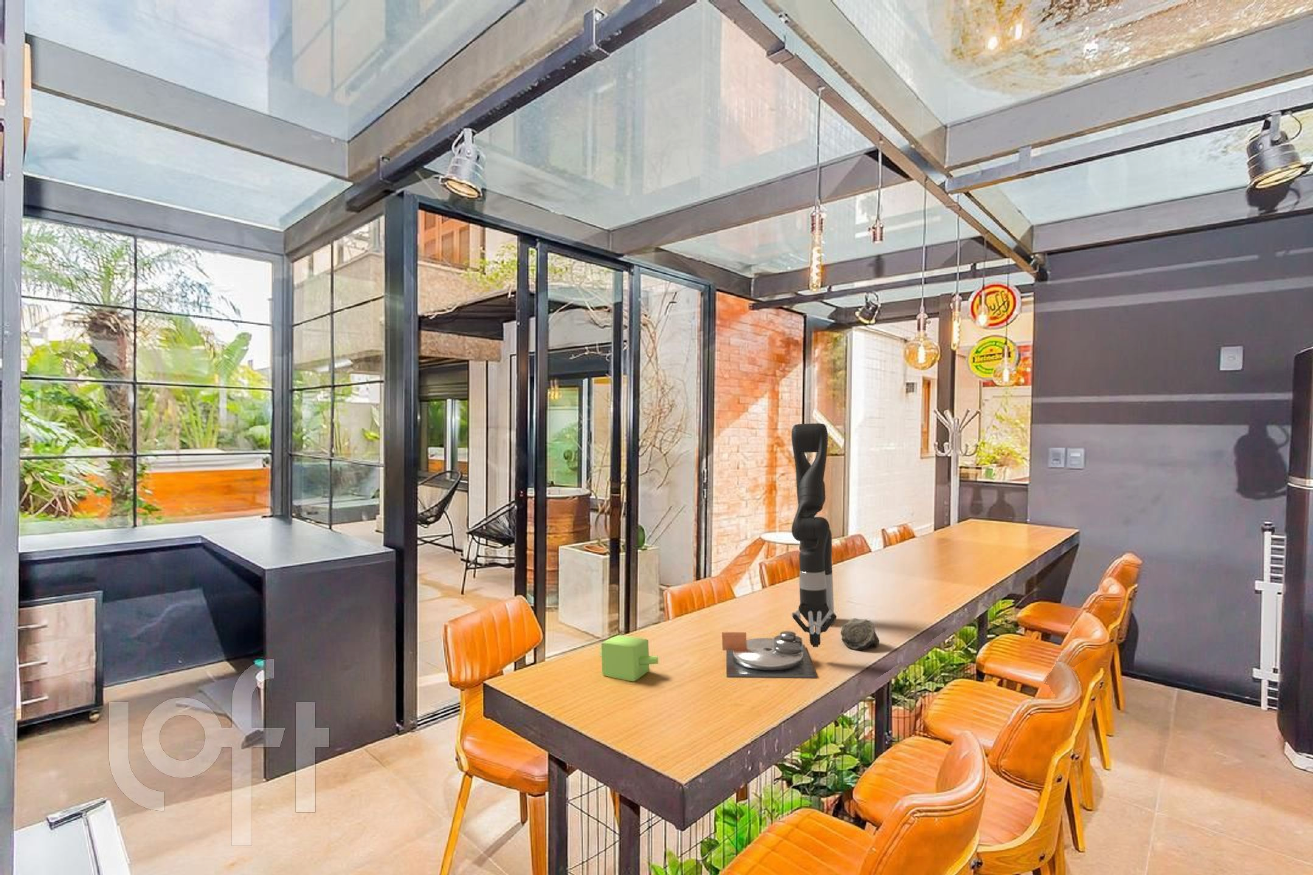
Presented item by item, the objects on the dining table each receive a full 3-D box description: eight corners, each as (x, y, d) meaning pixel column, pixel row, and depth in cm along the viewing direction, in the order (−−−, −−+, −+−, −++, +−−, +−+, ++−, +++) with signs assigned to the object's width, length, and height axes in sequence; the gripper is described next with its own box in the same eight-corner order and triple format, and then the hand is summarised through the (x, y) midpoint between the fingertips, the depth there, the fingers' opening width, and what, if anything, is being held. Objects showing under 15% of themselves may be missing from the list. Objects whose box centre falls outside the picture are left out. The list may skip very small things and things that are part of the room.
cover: (773, 644, 175) (772, 629, 175) (800, 644, 174) (800, 629, 174) (775, 654, 167) (774, 637, 167) (804, 654, 166) (803, 638, 166)
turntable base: (726, 646, 184) (726, 644, 184) (804, 647, 182) (804, 644, 182) (726, 676, 161) (726, 673, 161) (816, 677, 158) (816, 674, 158)
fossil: (837, 647, 179) (838, 613, 183) (843, 652, 186) (844, 620, 190) (875, 650, 174) (875, 616, 178) (880, 656, 181) (880, 623, 185)
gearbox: (666, 672, 165) (665, 638, 166) (648, 685, 157) (647, 649, 157) (614, 662, 175) (613, 630, 175) (594, 674, 166) (593, 640, 166)
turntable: (723, 644, 183) (722, 622, 183) (798, 645, 180) (797, 623, 180) (722, 669, 163) (721, 644, 163) (807, 670, 160) (806, 645, 160)
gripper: (833, 582, 173) (836, 641, 173) (788, 583, 174) (790, 641, 174) (838, 589, 165) (841, 650, 165) (791, 589, 167) (793, 650, 166)
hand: (815, 646), depth 169 cm, fingers closed
